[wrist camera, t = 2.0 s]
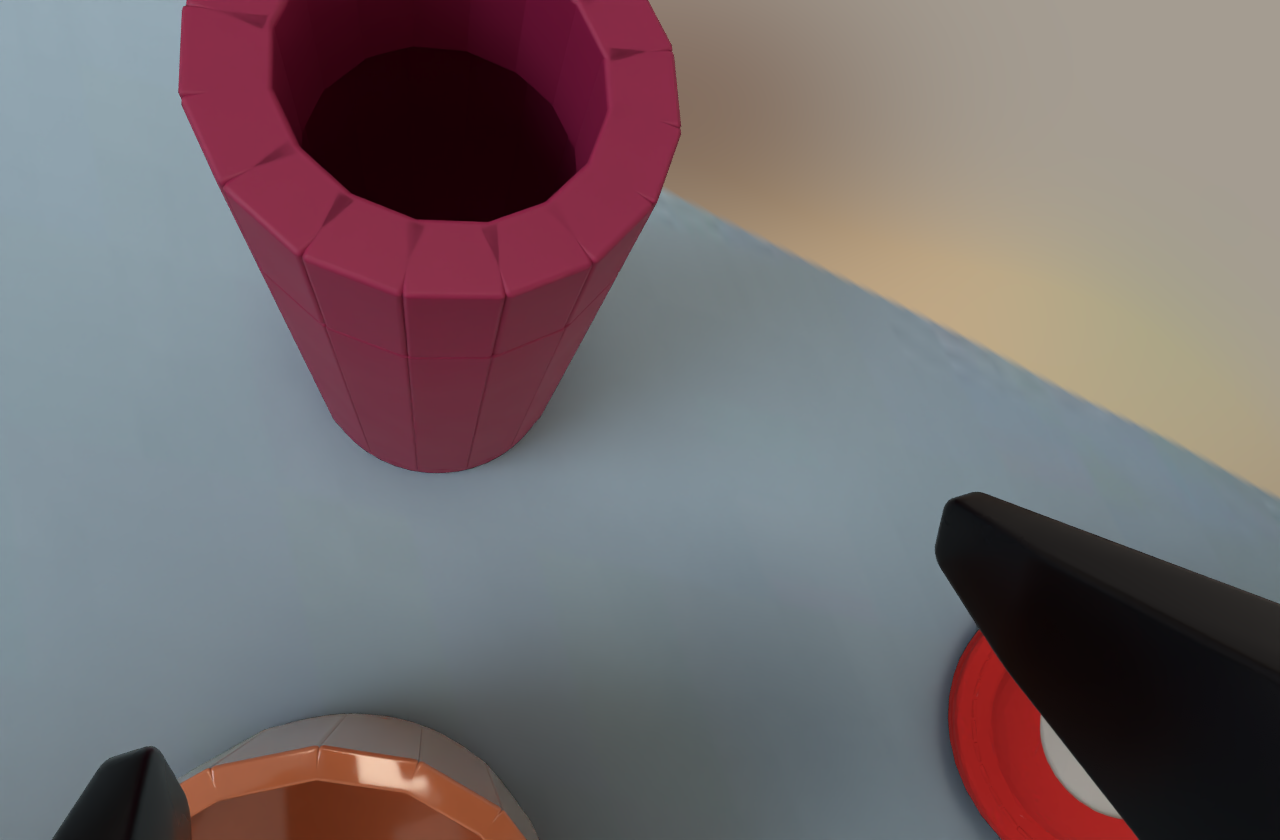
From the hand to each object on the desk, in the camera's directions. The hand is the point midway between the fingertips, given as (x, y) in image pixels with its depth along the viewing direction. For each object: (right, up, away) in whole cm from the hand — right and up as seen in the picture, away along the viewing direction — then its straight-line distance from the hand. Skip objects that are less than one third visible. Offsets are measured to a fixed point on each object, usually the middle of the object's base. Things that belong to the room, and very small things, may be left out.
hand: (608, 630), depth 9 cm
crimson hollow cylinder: (-5, +4, +14) cm, 15 cm away
